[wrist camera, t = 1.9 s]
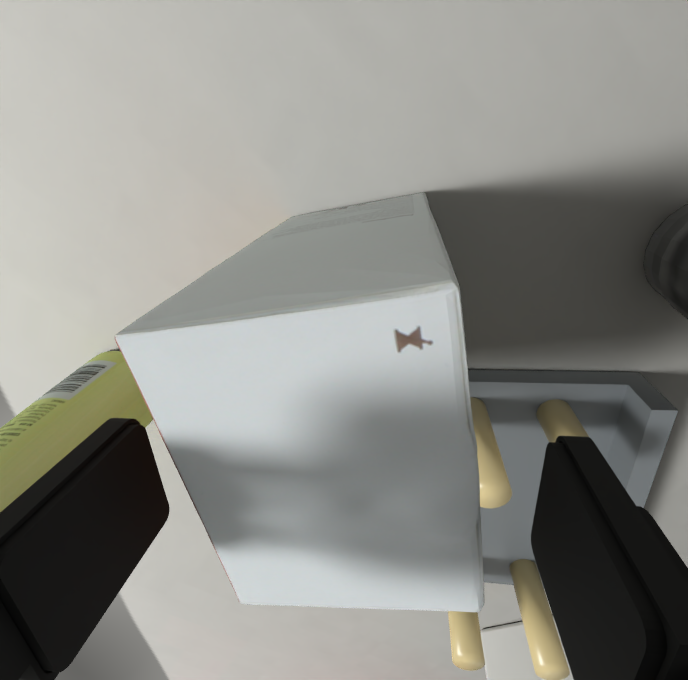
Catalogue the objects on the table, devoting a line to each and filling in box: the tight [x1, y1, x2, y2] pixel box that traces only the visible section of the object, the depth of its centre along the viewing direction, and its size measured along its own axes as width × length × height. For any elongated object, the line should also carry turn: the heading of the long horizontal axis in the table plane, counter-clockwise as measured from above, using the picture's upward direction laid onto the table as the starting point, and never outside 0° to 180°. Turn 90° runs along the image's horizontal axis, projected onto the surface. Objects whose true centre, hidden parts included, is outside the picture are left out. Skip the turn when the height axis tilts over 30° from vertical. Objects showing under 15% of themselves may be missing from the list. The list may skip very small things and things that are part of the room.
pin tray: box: [448, 370, 678, 680], centre depth 21 cm, size 15×12×7 cm
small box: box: [115, 193, 484, 612], centre depth 14 cm, size 8×6×13 cm
